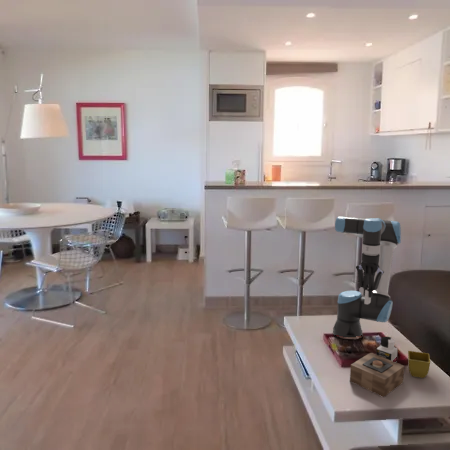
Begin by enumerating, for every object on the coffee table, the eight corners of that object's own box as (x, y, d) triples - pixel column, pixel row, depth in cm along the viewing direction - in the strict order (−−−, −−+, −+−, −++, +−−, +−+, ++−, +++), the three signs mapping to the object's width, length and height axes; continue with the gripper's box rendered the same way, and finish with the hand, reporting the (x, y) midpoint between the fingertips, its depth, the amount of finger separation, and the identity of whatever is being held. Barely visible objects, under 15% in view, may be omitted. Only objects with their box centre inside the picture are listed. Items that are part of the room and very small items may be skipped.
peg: (374, 376, 199) (375, 359, 198) (383, 379, 196) (384, 362, 195) (369, 379, 197) (371, 362, 195) (378, 383, 194) (379, 366, 192)
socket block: (369, 368, 208) (370, 351, 206) (402, 382, 196) (404, 365, 195) (349, 381, 198) (350, 363, 196) (383, 397, 186) (385, 378, 184)
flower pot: (406, 377, 200) (408, 359, 198) (406, 368, 208) (408, 350, 206) (428, 381, 197) (430, 362, 195) (427, 371, 205) (429, 353, 203)
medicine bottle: (375, 362, 213) (377, 338, 211) (382, 356, 219) (383, 333, 216) (390, 367, 209) (392, 343, 206) (396, 361, 214) (398, 338, 211)
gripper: (353, 251, 205) (350, 301, 210) (379, 258, 195) (376, 309, 200) (362, 249, 210) (359, 297, 215) (388, 254, 200) (384, 305, 205)
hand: (367, 303), depth 207 cm, fingers closed
